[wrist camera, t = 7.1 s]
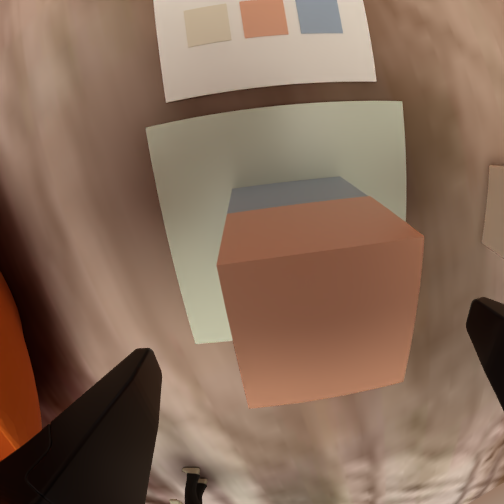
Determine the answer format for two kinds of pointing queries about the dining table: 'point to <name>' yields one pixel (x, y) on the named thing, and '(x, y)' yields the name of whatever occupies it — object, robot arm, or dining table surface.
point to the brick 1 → (319, 298)
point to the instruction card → (260, 44)
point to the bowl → (15, 380)
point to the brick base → (291, 193)
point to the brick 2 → (495, 211)
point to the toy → (192, 487)
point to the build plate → (263, 177)
